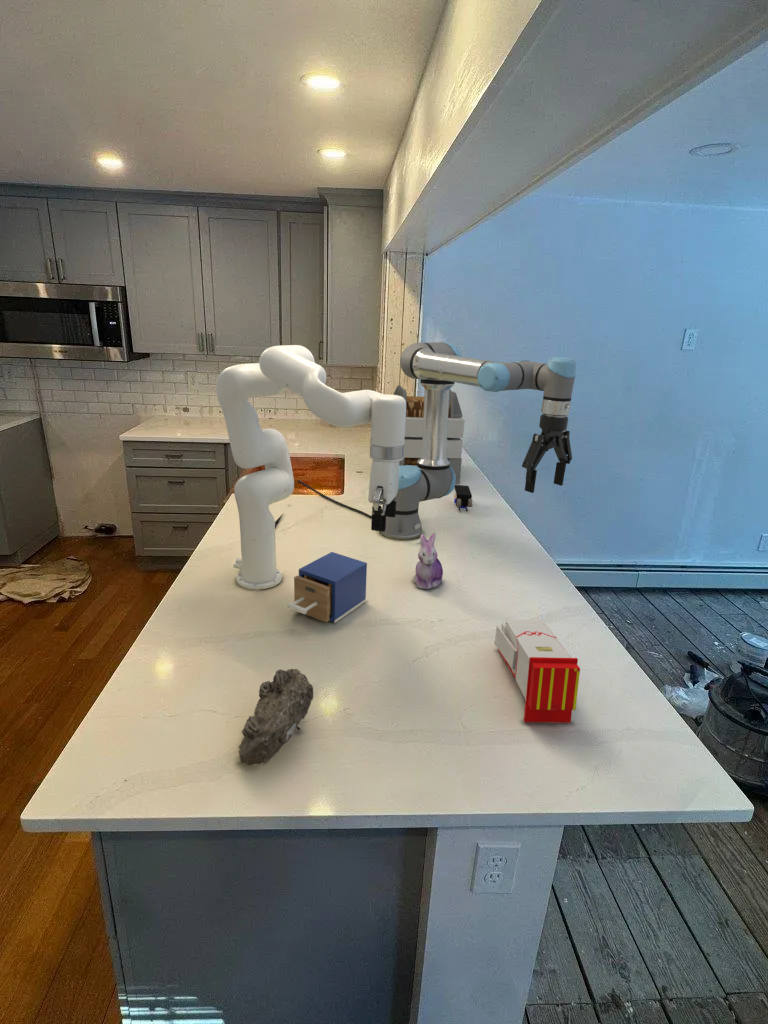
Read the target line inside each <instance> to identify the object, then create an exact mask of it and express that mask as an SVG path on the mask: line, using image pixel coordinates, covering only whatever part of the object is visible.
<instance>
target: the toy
mask: <svg viewBox="0 0 768 1024" xmlns="http://www.w3.org/2000/svg"><path fill="white" fill-rule="evenodd" d="M494 645H495V647H496V648H497V651H498V653H499V654H500V656H501V658H502V660H503V661H504V663H505V665H506V666H507V668H508V670H509V671H510V673H511V675H512V676H513V678H514V679H515V682H516V684H517V686H518V688H519V690H520V692H521V693H522V695H523V697H524V699H525V701H524V703H525V705H524V712H523V713H524V714H523V722H524V723H550V724H551V723H552V724H553V723H554V724H556V723H557V724H558V723H559V724H561V723H562V724H571V723H572V717H573V716H572V715H573V711H576V708H577V699H578V692H579V682H580V674H581V667H580V666H579V664H578V663H579V662H578V661H579V659H578V658H577V657H572V656H571V655H570V653H569V652H568V651H567V649H566V648H565V647H564V645H563V644H562V643H561V641H560V639H558V637H556V635H555V634H554V632H553V631H552V630H551V628H550V626H549V625H547V623H546V622H545V621H544V620H517V619H516V620H513V619H512V620H511V619H510V620H509V619H506V620H505V622H501V627H500V626H499V625H497V626H496V628H495V637H494Z"/></svg>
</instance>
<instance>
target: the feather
mask: <svg viewBox="0 0 768 1024" xmlns="http://www.w3.org/2000/svg"><path fill="white" fill-rule="evenodd" d="M283 515H284V513H282V514H281V515H280V516H279V517H278V518H277V520H275V529H276V528H277V526H278V525H279V522H280V520H281V519H282V517H283Z"/></svg>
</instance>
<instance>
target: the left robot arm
mask: <svg viewBox="0 0 768 1024" xmlns="http://www.w3.org/2000/svg"><path fill="white" fill-rule="evenodd" d="M216 380H217V381H216V383H215V385H216V386H215V387H216V388H215V391H216V397H217V401H218V404H219V406H220V409H221V411H222V414H223V418H224V421H225V426H226V431H227V436H228V440H229V445H230V450H231V455H232V459H233V461H234V463H235V465H236V466H237V467H239V468H241V469H244V470H245V469H246V470H247V469H254V468H257V467H262V466H264V469H262V470H258V471H254V472H251V473H248V474H245V475H243V476H241V477H240V478H239V479H238V480H237V481H236V483H234V484H235V485H234V489H233V490H234V491H233V494H234V499H235V503H236V507H237V512H238V519H239V534H240V535H239V536H240V555H241V556H240V557H241V558H240V557H237V558H236V560H235V562H234V563H233V568H234V569H237V570H239V573H238V574H237V575H236V583H237V584H238V586H240V587H242V588H244V589H248V590H266V589H270V588H273V587H275V586H277V585H279V584H280V583H281V582H282V580H283V576H282V572H281V571H279V570H278V569H277V549H276V548H277V547H276V546H277V545H276V544H277V543H276V528H275V524H276V523H275V522H276V520H275V517H274V515H273V514H272V512H271V510H270V508H269V506H271V505H273V504H276V503H278V502H281V501H284V500H286V499H288V498H289V497H291V495H293V492H294V489H295V478H294V473H293V466H292V462H291V461H292V460H291V456H290V450H289V446H288V443H287V440H286V439H285V437H284V435H283V434H282V433H281V432H280V431H279V430H278V429H275V428H271V427H270V428H269V427H267V428H261V424H260V420H259V415H258V412H257V411H256V409H255V407H254V406H253V405H252V403H251V402H250V401H249V399H252V398H261V397H267V396H275V395H278V394H280V393H283V392H285V391H287V390H288V391H290V392H291V393H294V394H295V395H297V396H299V397H300V398H302V399H303V402H304V404H305V405H306V407H307V409H308V410H309V411H310V413H311V414H313V415H314V416H315V417H317V418H319V419H320V420H322V421H324V422H326V423H328V424H329V425H332V426H334V427H337V428H341V429H349V428H352V427H357V426H361V425H367V424H370V441H369V442H370V443H369V458H370V459H371V460H372V461H371V467H370V473H369V484H368V485H369V486H368V497H367V500H368V502H369V504H372V505H371V516H372V519H371V521H370V523H371V525H370V530H371V531H375V532H379V531H381V532H384V531H385V530H386V517H395V516H396V495H397V492H398V485H399V461H401V460H403V456H404V438H405V420H406V400H405V399H404V398H403V397H401V396H398V395H393V394H387V393H386V394H384V393H381V392H378V391H375V390H373V389H360V390H352V391H346V392H341V391H339V390H336V389H334V388H333V387H330V386H329V385H326V384H327V372H326V370H325V368H324V367H323V366H321V365H320V364H318V363H316V362H315V358H314V355H313V353H312V352H311V351H310V350H309V349H308V348H307V347H305V346H303V345H300V344H289V345H288V344H287V345H285V344H283V345H272V346H270V347H267V348H266V349H265V350H264V351H263V352H262V353H261V354H260V356H259V360H258V362H255V363H240V364H234V365H230V366H229V367H227V368H224V369H223V370H222V371H221V372H220V374H219V376H218V377H217V379H216Z"/></svg>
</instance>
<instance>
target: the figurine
mask: <svg viewBox="0 0 768 1024" xmlns="http://www.w3.org/2000/svg"><path fill="white" fill-rule="evenodd" d="M436 536H437V535H436V533H435V532H433V533H431V534H430V537H429V539H427V538H426V536H425V535H424V534H423V533H422V534H421V536H420V537H419V538H420V540H419V541H420V548H419V550H418V553H417V557H418V560H419V561H418V562H416V565H415V575H414V580H413V581H414V583H415V585H416V587H417V588H418V589H419V588H420V589H423V590H430V589H432V588H437V587H438V586H439V585H440V584H441V583H442V580H443V575H444V569H443V565H442V563H441V560H440V559H439V558H438V552H437V549H436V548H435V542H436Z"/></svg>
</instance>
